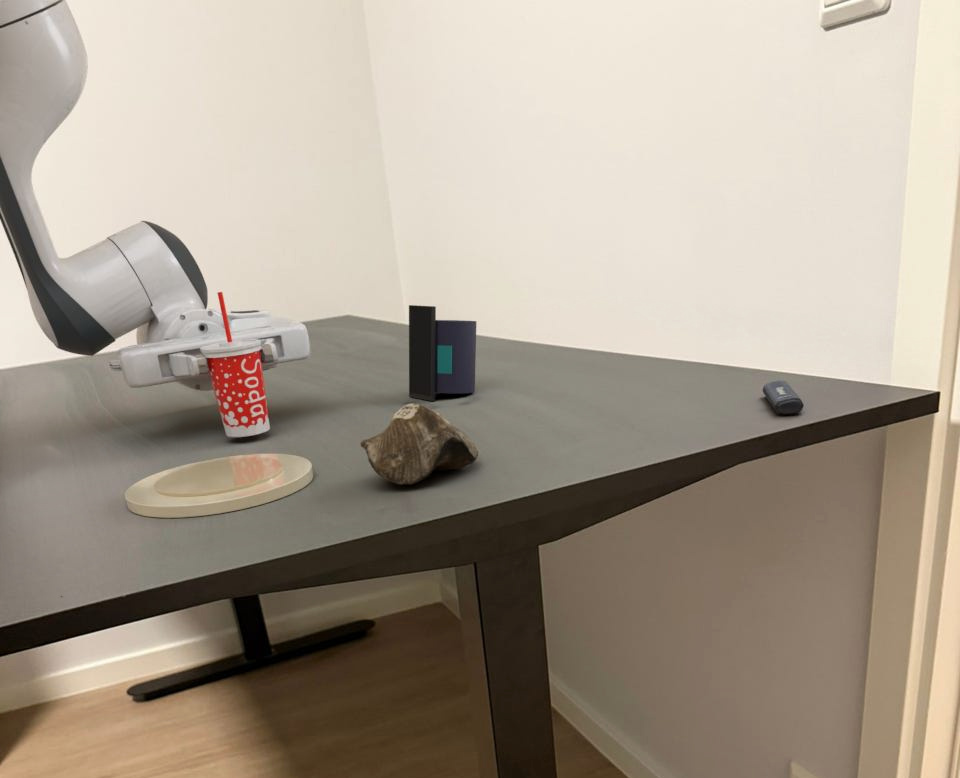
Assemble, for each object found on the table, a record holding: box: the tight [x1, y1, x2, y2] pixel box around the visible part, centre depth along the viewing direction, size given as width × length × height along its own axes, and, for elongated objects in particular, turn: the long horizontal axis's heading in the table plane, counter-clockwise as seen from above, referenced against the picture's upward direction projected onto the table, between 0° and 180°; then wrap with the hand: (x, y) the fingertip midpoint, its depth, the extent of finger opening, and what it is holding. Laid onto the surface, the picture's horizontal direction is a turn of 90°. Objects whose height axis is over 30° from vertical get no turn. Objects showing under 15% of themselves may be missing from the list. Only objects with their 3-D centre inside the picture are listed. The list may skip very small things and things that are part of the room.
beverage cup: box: [200, 291, 271, 438], centre depth 98 cm, size 6×6×14 cm
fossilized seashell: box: [360, 403, 479, 485], centre depth 79 cm, size 8×7×10 cm
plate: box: [124, 453, 314, 519], centre depth 83 cm, size 16×16×1 cm
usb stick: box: [762, 379, 804, 416], centre depth 90 cm, size 10×3×2 cm, turn 172°
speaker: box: [408, 304, 477, 402], centre depth 110 cm, size 8×6×10 cm
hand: (236, 359), depth 97 cm, fingers closed on beverage cup, 6 cm apart
